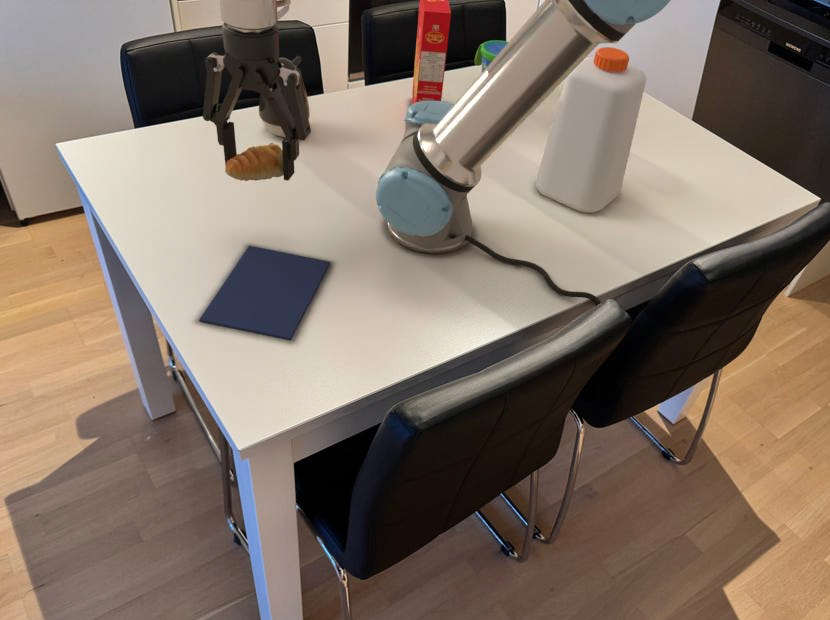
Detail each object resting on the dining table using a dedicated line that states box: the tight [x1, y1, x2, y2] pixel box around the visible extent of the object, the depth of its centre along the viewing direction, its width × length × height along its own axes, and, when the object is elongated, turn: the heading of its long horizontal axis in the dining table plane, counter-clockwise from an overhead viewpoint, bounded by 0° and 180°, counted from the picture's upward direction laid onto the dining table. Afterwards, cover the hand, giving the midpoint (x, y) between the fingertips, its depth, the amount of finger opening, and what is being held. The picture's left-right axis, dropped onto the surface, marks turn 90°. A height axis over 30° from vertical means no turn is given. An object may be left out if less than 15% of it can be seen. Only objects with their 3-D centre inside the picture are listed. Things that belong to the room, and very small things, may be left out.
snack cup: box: [474, 39, 509, 73], centre depth 179 cm, size 16×10×10 cm
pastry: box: [224, 142, 284, 182], centre depth 116 cm, size 9×7×4 cm
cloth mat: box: [199, 245, 331, 341], centre depth 116 cm, size 14×20×1 cm
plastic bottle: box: [535, 46, 647, 214], centre depth 141 cm, size 15×15×28 cm
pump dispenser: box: [258, 55, 311, 138], centre depth 150 cm, size 10×10×15 cm
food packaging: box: [411, 0, 452, 105], centre depth 159 cm, size 15×5×25 cm, turn 4°
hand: (260, 170), depth 117 cm, fingers closed on pastry, 9 cm apart
